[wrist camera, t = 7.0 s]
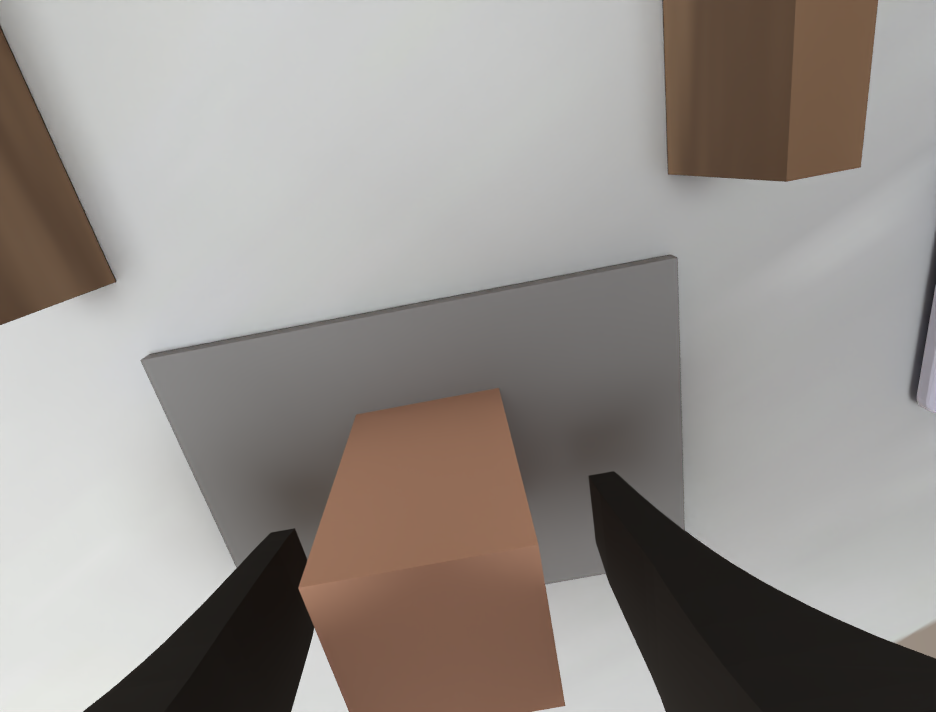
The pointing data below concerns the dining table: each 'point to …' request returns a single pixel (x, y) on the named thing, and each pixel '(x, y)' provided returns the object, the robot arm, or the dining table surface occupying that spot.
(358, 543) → the terracotta block
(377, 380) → the rubber mat
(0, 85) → the open wooden frame
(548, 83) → the dining table surface
